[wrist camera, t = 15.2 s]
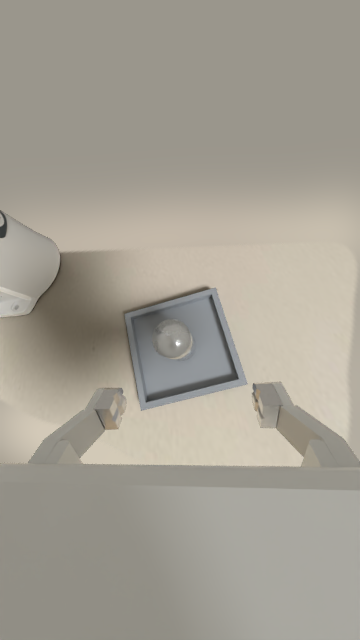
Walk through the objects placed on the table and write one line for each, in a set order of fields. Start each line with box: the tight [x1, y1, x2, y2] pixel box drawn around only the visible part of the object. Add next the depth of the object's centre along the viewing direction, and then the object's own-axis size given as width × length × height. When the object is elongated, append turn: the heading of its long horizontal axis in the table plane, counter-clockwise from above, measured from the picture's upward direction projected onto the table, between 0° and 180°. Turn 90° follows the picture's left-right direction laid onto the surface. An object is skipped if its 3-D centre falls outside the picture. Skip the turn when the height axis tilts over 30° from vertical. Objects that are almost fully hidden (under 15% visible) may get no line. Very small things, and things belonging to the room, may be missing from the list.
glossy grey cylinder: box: [152, 319, 196, 361], centre depth 23 cm, size 4×4×8 cm
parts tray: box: [124, 288, 247, 411], centre depth 27 cm, size 14×14×2 cm
